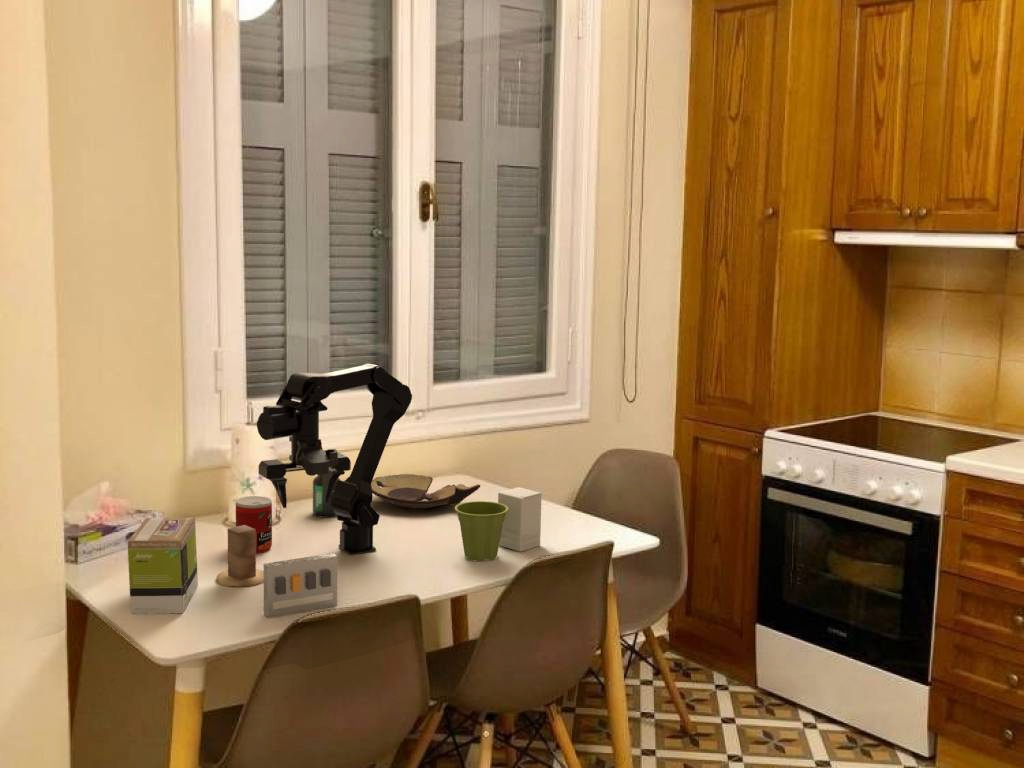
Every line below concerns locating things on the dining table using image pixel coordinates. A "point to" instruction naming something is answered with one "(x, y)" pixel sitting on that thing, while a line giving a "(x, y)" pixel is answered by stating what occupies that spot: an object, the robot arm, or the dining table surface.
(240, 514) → the canned food
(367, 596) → the dining table surface
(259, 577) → the coaster
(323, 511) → the supplement bottle
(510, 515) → the supplement box
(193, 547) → the tea box
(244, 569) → the walnut block
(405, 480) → the broken bowl
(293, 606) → the breaker panel
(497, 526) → the plant pot
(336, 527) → the dining table surface
